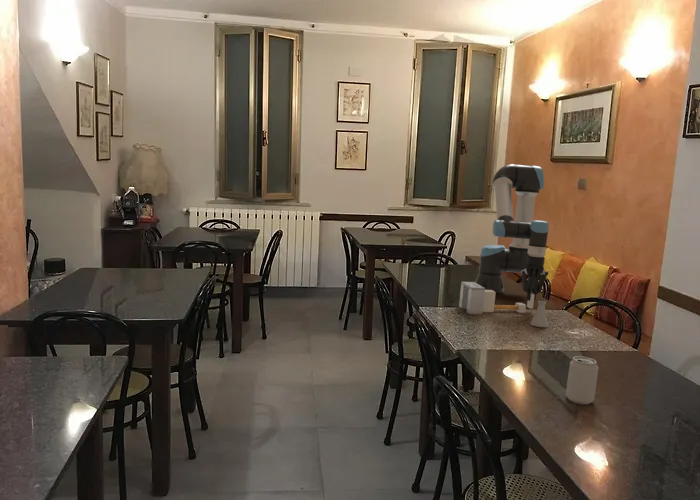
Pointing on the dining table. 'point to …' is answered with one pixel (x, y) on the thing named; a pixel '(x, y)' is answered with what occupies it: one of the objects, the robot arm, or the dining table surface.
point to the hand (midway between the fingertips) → (529, 307)
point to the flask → (540, 316)
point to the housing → (472, 297)
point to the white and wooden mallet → (490, 301)
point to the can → (582, 380)
